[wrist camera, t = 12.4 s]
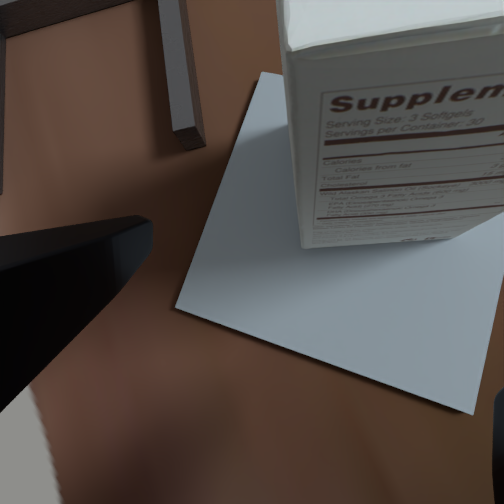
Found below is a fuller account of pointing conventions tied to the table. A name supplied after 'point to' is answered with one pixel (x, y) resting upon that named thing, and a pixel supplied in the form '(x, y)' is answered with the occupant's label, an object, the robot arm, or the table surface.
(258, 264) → the mat
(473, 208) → the supplement box
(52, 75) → the table surface
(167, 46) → the cradle
